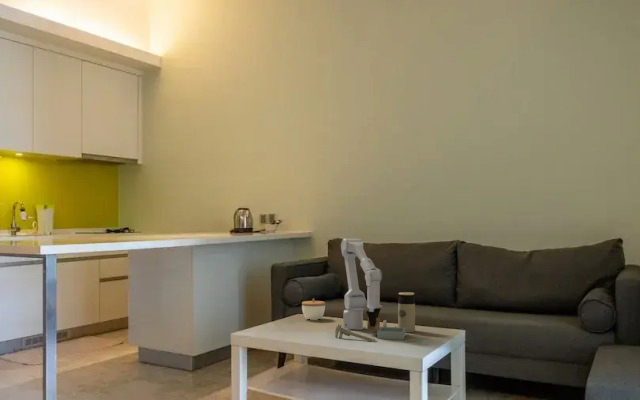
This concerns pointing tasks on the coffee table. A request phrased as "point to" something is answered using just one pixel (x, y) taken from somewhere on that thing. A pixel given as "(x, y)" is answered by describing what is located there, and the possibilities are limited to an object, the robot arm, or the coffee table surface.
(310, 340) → the coffee table surface
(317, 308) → the lidded bowl
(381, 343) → the coffee table surface
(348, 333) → the caliper
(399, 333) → the tray
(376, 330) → the grey peg base
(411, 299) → the travel mug
